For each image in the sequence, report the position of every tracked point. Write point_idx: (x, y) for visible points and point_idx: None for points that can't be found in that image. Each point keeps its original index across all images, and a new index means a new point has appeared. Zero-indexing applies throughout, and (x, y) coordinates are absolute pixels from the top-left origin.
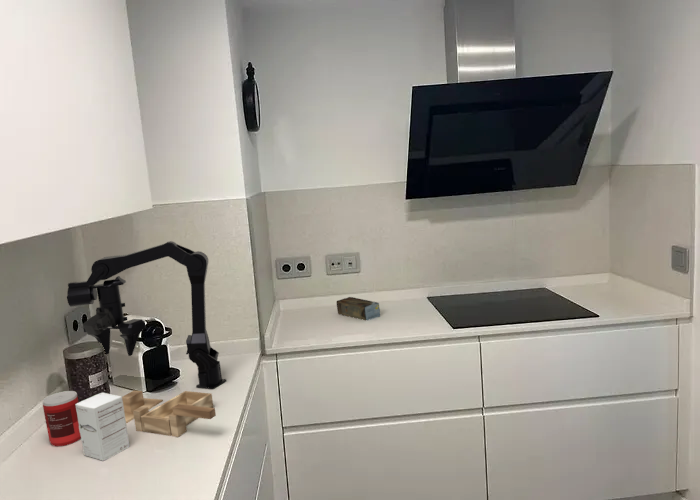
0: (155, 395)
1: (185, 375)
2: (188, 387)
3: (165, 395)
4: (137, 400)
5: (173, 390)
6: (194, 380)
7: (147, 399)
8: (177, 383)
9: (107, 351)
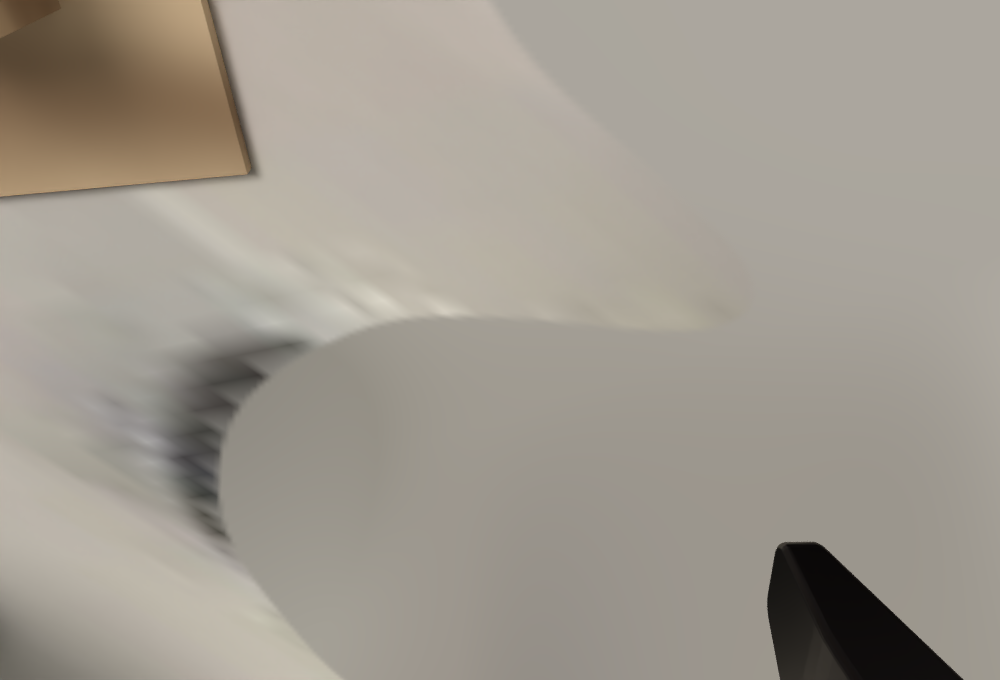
0: (144, 292)
1: (323, 672)
2: (11, 503)
3: (32, 317)
4: None
5: (84, 425)
6: (125, 616)
7: (69, 163)
8: (219, 546)
9: (786, 631)
